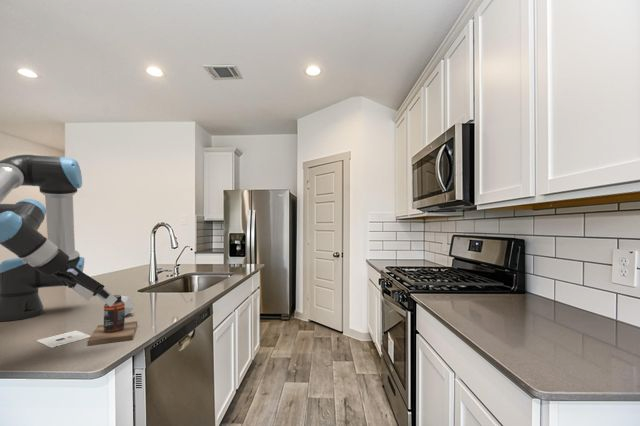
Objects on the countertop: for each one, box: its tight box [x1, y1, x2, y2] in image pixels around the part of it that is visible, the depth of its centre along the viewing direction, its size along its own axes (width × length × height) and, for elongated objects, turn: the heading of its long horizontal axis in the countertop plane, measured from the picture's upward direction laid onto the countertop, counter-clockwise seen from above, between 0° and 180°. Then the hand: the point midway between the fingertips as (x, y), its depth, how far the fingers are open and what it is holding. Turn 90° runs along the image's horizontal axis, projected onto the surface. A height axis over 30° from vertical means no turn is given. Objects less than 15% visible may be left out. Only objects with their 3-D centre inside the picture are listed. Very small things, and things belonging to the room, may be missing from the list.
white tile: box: [35, 330, 91, 349], centre depth 104 cm, size 11×11×1 cm
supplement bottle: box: [103, 294, 126, 332], centre depth 109 cm, size 6×6×11 cm
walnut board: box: [87, 320, 138, 347], centre depth 108 cm, size 16×12×2 cm
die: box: [121, 295, 134, 317], centre depth 129 cm, size 8×9×10 cm
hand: (102, 299), depth 105 cm, fingers open, 13 cm apart
